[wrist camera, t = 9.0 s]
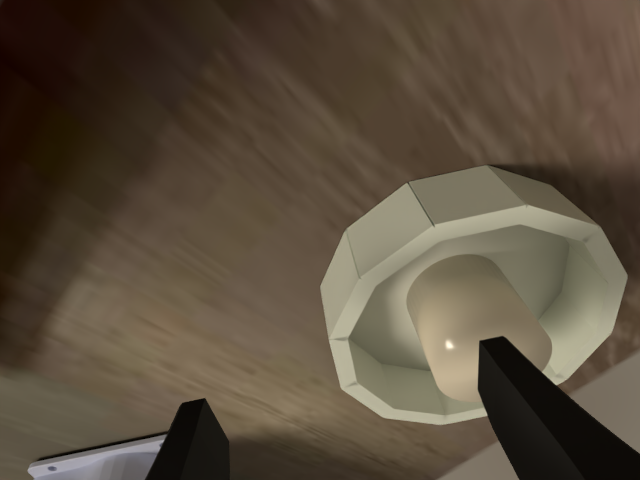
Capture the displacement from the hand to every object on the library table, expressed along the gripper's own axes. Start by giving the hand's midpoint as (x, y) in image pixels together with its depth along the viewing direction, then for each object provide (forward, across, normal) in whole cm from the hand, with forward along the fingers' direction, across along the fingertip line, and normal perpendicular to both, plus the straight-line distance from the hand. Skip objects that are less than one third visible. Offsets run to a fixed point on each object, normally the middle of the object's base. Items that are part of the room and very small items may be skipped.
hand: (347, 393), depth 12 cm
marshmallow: (+9, -6, +6) cm, 12 cm away
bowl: (+9, -6, +6) cm, 13 cm away
